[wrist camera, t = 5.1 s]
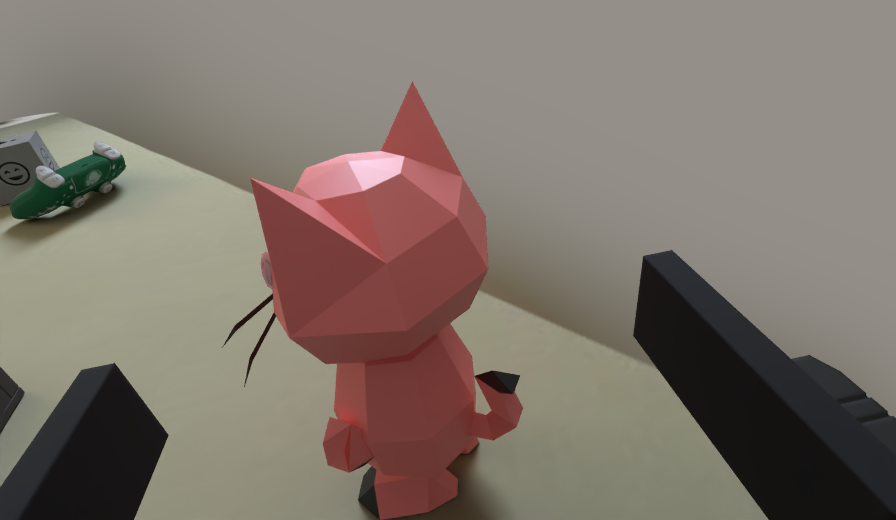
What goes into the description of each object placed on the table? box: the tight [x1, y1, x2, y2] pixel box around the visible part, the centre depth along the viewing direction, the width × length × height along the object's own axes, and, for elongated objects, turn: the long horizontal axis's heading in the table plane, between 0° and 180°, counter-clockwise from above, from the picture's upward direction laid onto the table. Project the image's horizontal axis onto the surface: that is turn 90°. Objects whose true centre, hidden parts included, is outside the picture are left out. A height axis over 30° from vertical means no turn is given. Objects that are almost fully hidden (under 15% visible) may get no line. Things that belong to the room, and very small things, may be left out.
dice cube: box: [0, 131, 60, 206], centre depth 46 cm, size 5×5×5 cm
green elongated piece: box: [10, 142, 126, 219], centre depth 42 cm, size 9×4×6 cm
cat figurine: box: [222, 82, 523, 520], centre depth 13 cm, size 7×7×12 cm
